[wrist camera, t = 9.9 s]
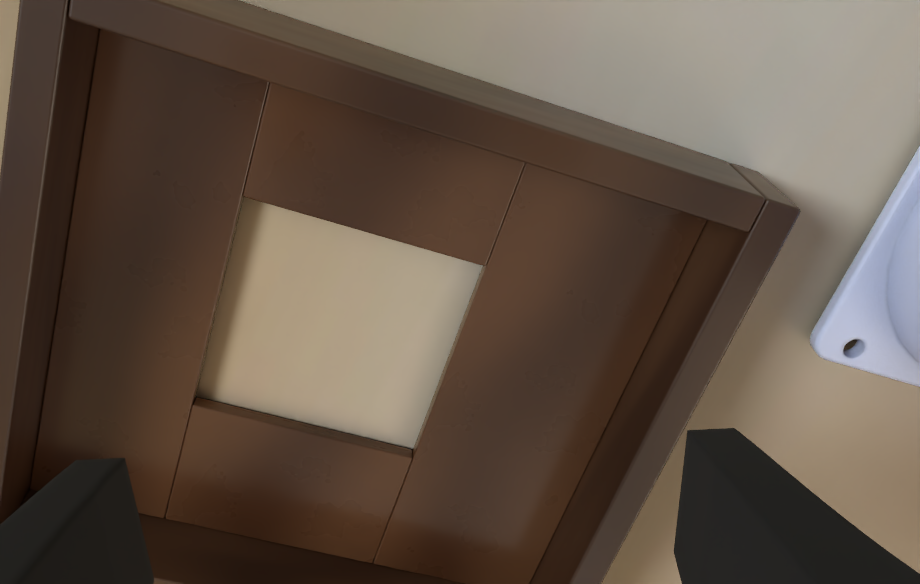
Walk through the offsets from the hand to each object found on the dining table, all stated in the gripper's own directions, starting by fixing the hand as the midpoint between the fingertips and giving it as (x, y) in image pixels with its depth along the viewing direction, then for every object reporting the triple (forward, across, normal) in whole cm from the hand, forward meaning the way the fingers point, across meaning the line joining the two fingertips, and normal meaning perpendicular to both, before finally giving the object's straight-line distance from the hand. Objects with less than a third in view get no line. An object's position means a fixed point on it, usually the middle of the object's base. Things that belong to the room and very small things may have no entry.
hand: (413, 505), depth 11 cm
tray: (+9, +2, +3) cm, 10 cm away
